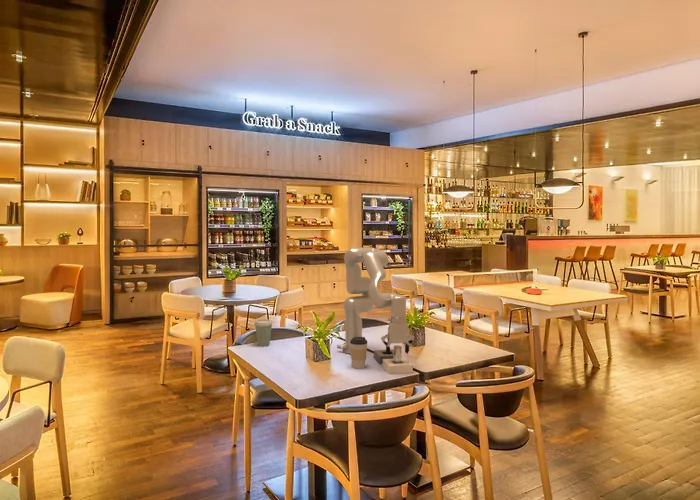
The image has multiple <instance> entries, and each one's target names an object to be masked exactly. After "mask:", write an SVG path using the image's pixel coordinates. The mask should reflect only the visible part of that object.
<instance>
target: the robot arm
mask: <svg viewBox="0 0 700 500" xmlns="http://www.w3.org/2000/svg"><path fill="white" fill-rule="evenodd" d="M343 259H344V260H343V261H344V262H343V263H344V266H345V278H346V280H345V282H346V284H345V286H346V292H347V293H348V294H350V295H353V296H349V297H347V298H346V299H344V301H343V309H344V315H345V316H344V317H345V326H344V327H345V328H344V329H345V335H344V337H345V339H344V342H343V344H337V345H336V348H337V349H340V350H342V352H343V353H344V354H348V355H351V349H350V347H351V344H350V341H351V340H352V338H354V337H363V320H362V318H361V316H360V313H369V312H372V310H373V308H374V307H375V308H377V309H383V310H384V309H390V316H389V317H388V318H387V321H389V323H388V328H387V334H385V335H383V336H382V337H381V338H380V339H381V342H382V343H383V344H384V345H385V350H386V353H387V354H388V355H390V350H391V344H404V346H405V347H404V353H406V354H409V352H410V346H411V344H412V343H413V342H414V339H415V336H414V335H411V334H410V333H409V332H410V331H409V324H408V322H406V321H407V319H406V318H407V297H406V296H405V295H402V294H398V293H396V292H386V293H385V292H384V293H381V292H380V291H379V289H378V284H379V283H380V282H382V281H383V280H384V279H386V277H387V273H386V271H385V268H384V267H387V265H388V263H389V257H388V255H387V253H386V252H385V251H384V250H381V249H378V248H375V247H352V248H348V249H347V250H346V251H345V253H344V257H343ZM359 263H360V264H361V263H363V264H364V267H365V269H366V271H367V273H368V276H362V268H361V267H360V265H359ZM386 339H387V341H386Z"/></svg>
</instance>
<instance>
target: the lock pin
mask: <svg viewBox="0 0 700 500" xmlns="http://www.w3.org/2000/svg"><path fill="white" fill-rule="evenodd" d="M402 347H403V346H402V345H398V344H396V345H393V349H394V351H393V364H400V363H401V355H402V350H403V349H402Z"/></svg>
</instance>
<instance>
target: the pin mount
mask: <svg viewBox="0 0 700 500" xmlns="http://www.w3.org/2000/svg"><path fill="white" fill-rule="evenodd" d="M393 351H394V348H393V349H392V348H391V349H390V355H388V354H387V353H386V349H377V350H376V349H375V350H373V359H374V360H375V361H376V362H377V363H378V364H379V365H383V359H393ZM401 358H403V357H402V354H401Z"/></svg>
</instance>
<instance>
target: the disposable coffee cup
mask: <svg viewBox="0 0 700 500" xmlns="http://www.w3.org/2000/svg"><path fill="white" fill-rule="evenodd" d="M254 326H255V333H256V339H257V345H258V346H259V347H268V346H270V343H271V334H272V327H273V321H272V320H271V319H266V318H260V319H256V320H255V321H254Z"/></svg>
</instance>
